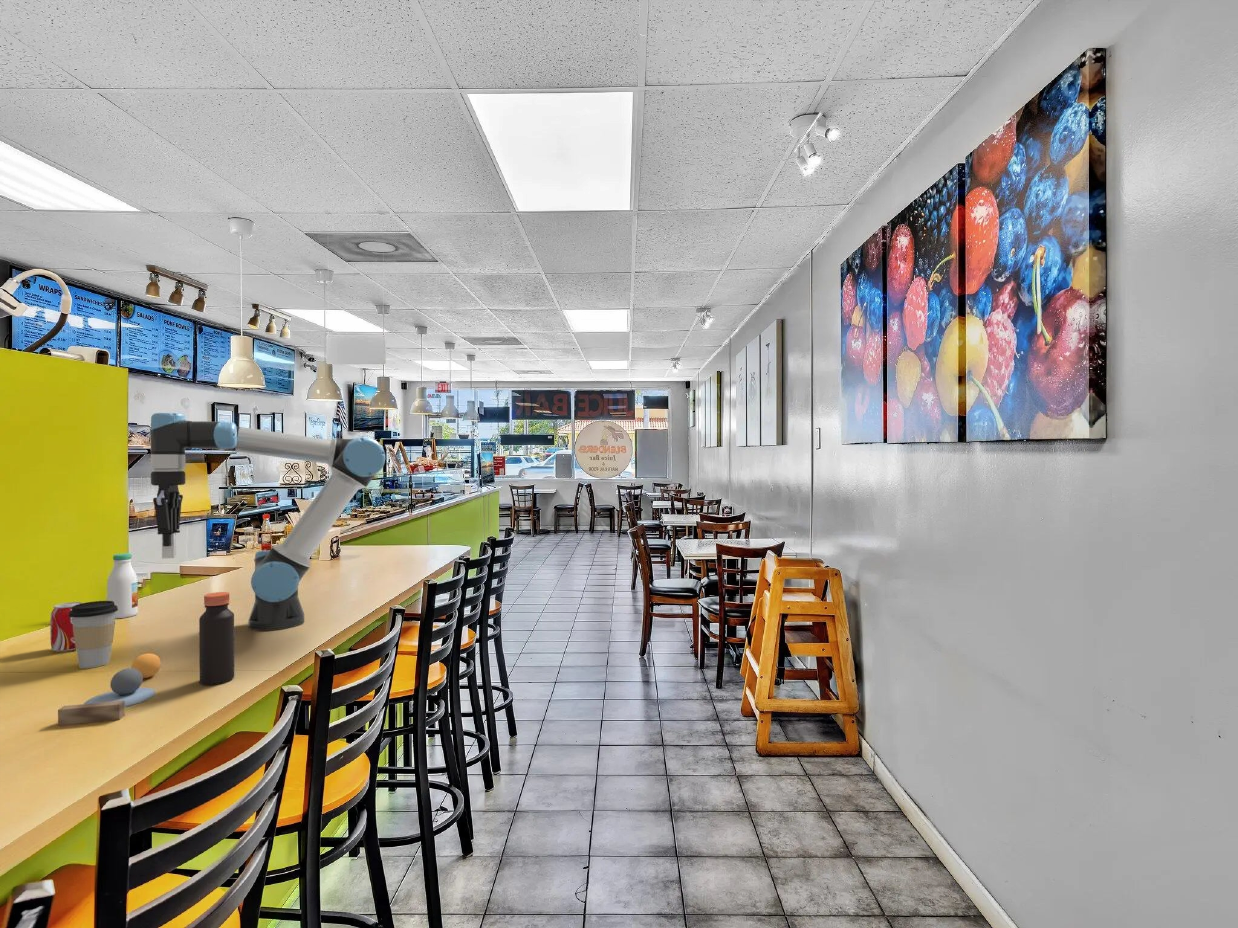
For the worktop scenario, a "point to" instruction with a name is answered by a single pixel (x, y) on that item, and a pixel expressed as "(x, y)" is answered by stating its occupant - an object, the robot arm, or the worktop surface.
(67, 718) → the brown wooden block
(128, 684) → the ball
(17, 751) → the worktop surface
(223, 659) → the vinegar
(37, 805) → the worktop surface
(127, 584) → the milk bottle
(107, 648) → the coffee cup
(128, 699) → the mark
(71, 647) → the soda can
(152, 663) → the ball
